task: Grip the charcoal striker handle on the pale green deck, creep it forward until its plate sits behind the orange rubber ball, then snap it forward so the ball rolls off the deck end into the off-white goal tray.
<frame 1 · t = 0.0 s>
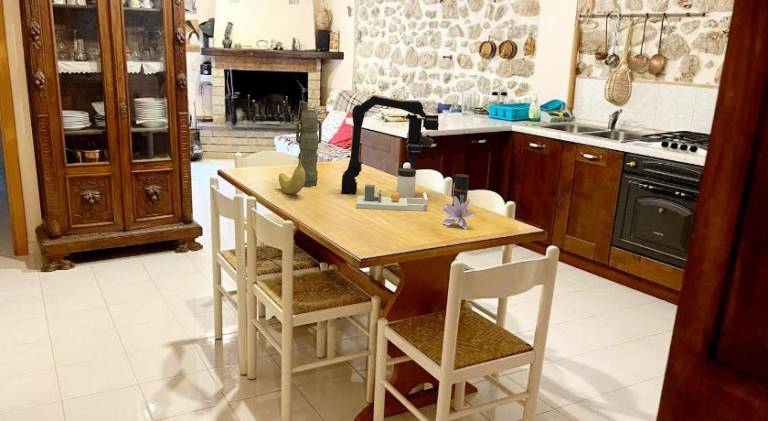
hand: (412, 164, 277), 15 cm above the table, tool pointing down, fingers open, 9 cm apart
deodorant: (458, 210, 259), on the table
banana: (290, 194, 273), on the table
ball: (395, 196, 260), point 4 cm above the table, touching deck
water lily: (455, 226, 237), on the table
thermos: (307, 185, 291), on the table
striker: (373, 192, 260), point 5 cm above the table, slide at 0.0 cm
goal: (416, 207, 261), on the table
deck: (381, 205, 261), on the table
jar: (405, 195, 281), on the table
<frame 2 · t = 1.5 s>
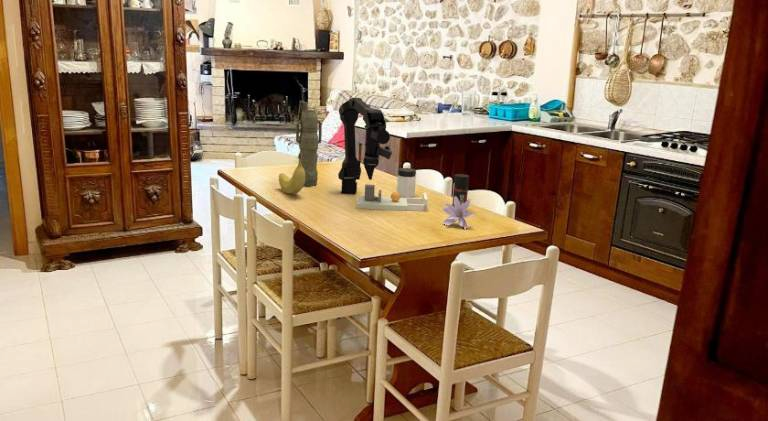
hand: (370, 177, 258), 12 cm above the table, tool pointing down, fingers open, 9 cm apart
nothing on the table moved.
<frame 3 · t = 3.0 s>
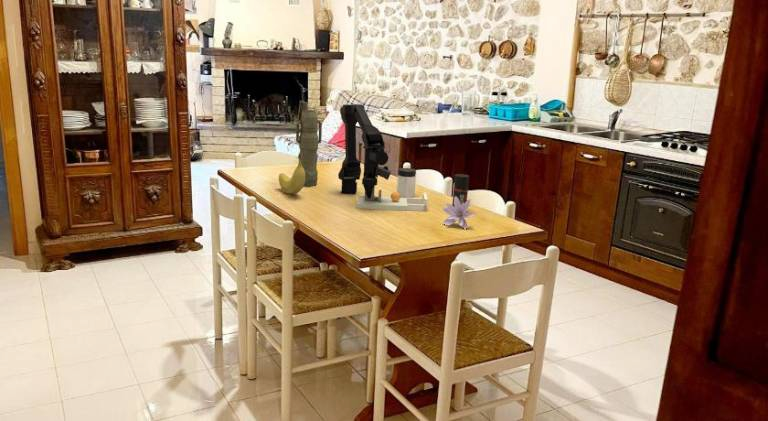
hand: (369, 197, 260), 3 cm above the table, tool pointing down, fingers closed on striker, 4 cm apart
striker: (373, 192, 260), point 5 cm above the table, slide at 0.0 cm, touching gripper
everything else where it was.
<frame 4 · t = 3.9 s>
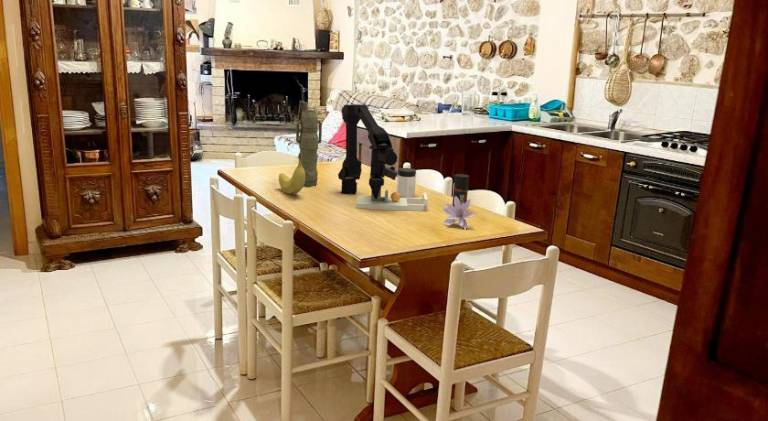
hand: (375, 197, 260), 3 cm above the table, tool pointing down, fingers closed on striker, 4 cm apart
striker: (379, 193, 260), point 5 cm above the table, slide at 2.8 cm, touching gripper
everything else where it was.
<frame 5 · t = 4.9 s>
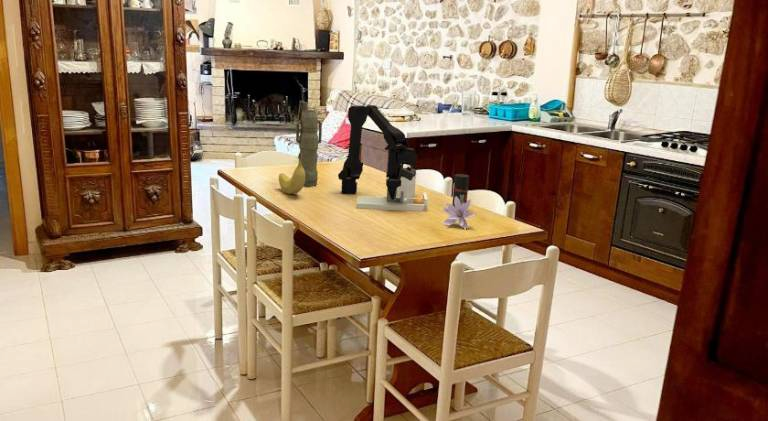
hand: (392, 198, 260), 3 cm above the table, tool pointing down, fingers closed on striker, 4 cm apart
ball: (418, 202, 261), point 2 cm above the table, tilted 75°
striker: (395, 193, 260), point 5 cm above the table, slide at 9.3 cm, touching gripper
everything else where it was.
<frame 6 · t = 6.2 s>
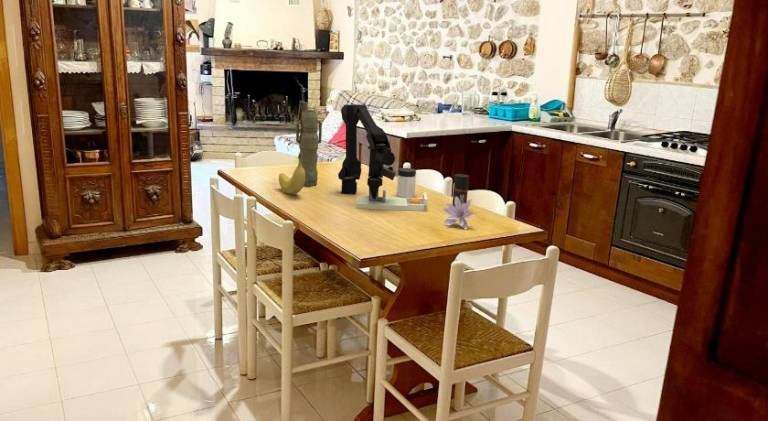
hand: (374, 197, 260), 3 cm above the table, tool pointing down, fingers closed on striker, 4 cm apart
ball: (415, 202, 261), point 2 cm above the table, tilted 112°
striker: (377, 193, 260), point 5 cm above the table, slide at 1.8 cm, touching gripper
everything else where it was.
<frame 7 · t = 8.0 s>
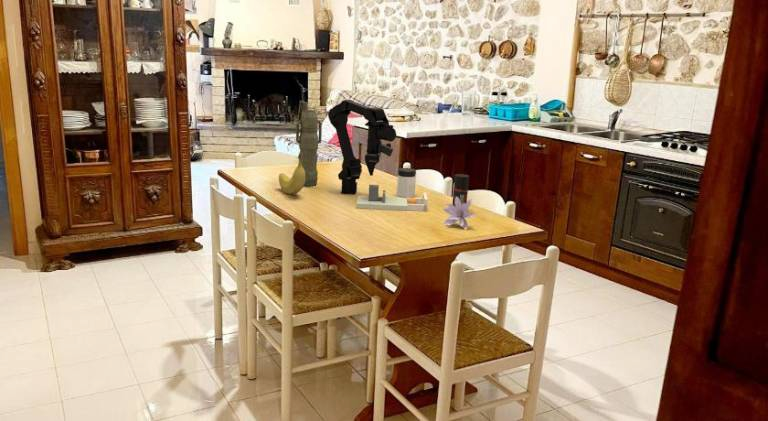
hand: (371, 173, 267), 12 cm above the table, tool pointing down, fingers open, 9 cm apart
ball: (411, 202, 261), point 2 cm above the table, tilted 152°
striker: (377, 193, 260), point 5 cm above the table, slide at 1.7 cm
everything else where it was.
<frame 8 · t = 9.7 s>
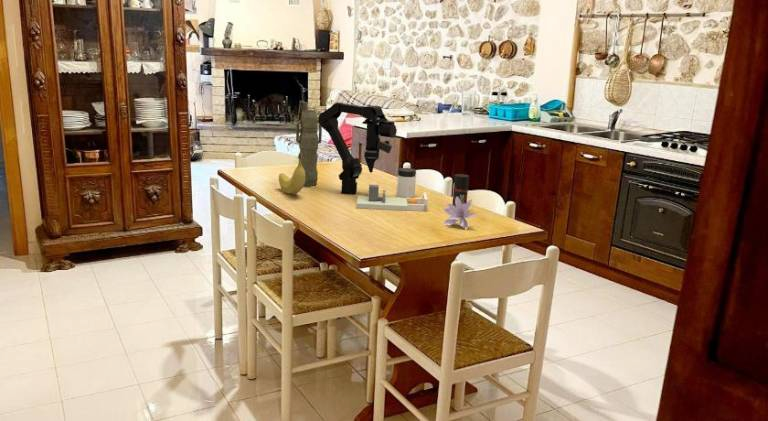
hand: (371, 170, 271), 12 cm above the table, tool pointing down, fingers open, 9 cm apart
ball: (412, 202, 261), point 2 cm above the table, tilted 143°
everything else where it was.
at the end: ball inside the target area on the goal (1.4 cm from its centre), point 2.0 cm above the goal's base; ball point 2.0 cm above the table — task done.
